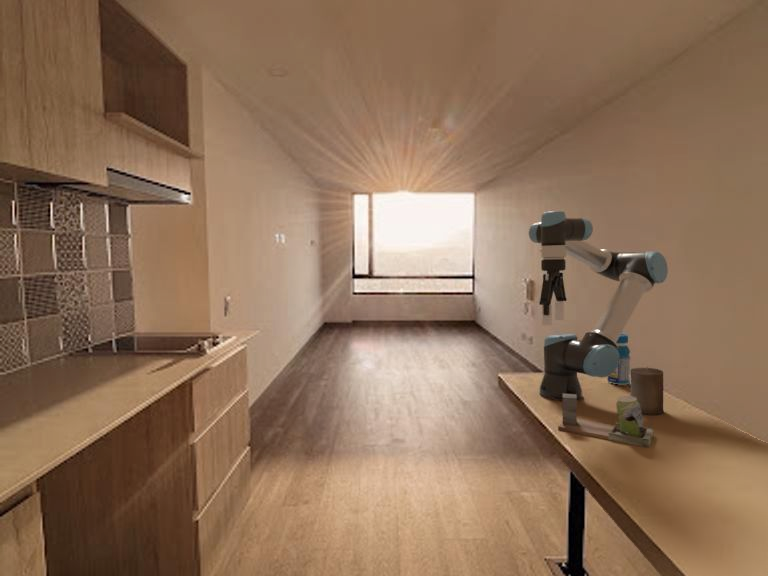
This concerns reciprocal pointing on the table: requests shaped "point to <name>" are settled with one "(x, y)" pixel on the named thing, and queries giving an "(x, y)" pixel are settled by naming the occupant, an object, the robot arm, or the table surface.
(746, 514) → the table surface
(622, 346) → the beverage bottle
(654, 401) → the pillar candle
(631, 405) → the beverage can
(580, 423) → the pull strip
